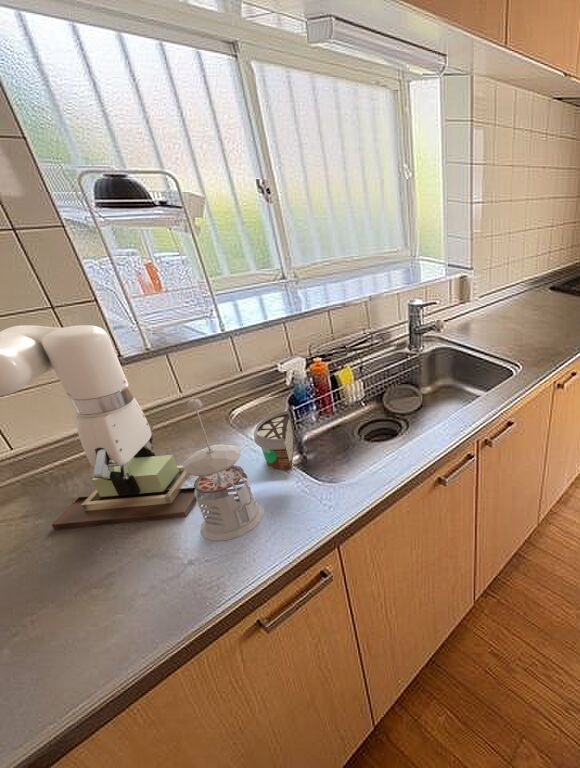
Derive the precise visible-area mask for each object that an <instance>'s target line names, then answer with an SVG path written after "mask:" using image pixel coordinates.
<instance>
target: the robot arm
mask: <svg viewBox="0 0 580 768" xmlns="http://www.w3.org/2000/svg"><path fill="white" fill-rule="evenodd" d="M52 370H54V372H55V374H56V376H57V378H58V380H59V382H60V384H61V386H62V388H63V390H64V392H65V393H66V397H67V398H68V400H69V402H70V405H71V406H72V408H73V410H74V413H75V414H76V415H77V416H76V417H74V419H75V427H76V430H77V434H78V438H79V440H80V443H81V446H82V450H83V452H84V454H85V456H86V458H87V460H88V462H89V465H90V466H91V467H92V468H94V469H93V475H92V476H93V478H98V479H104V480H108V481H112V483H113V485H114V487H115V489H116V491H117V493H118V495H119V496H126V495H137V494H139V493H140V489H139V487H138V485H137V483H136V480H135V478H134V476H133V475H130V474H129V466H128V461H129V460H130V459H132V458H137V457H151V456H156V455H155V452H154V451H155V446H154V445H153V432H154V431H153V430H154V426H153V424H151V423H149V422H148V420H147V417H146V415H145V413H144V411H143V409H142V408H141V406H140V404H139V403H138V401H137V399H136V398H135V396H134V394H133V391H132V389H131V387H130V385H129V382H128V380H127V377H126V375H125V373H124V370H123V368H122V365H121V362H120V360H119V358H118V355H117V353H116V350H115V348H114V345H113V343H112V341H111V338H110V336H109V334H108V333H107V331H106V330H105V329H104V328H102V327H99V326H96V325H91V324H80V325H70V326H64V327H58V326H57V327H56V326H45V325H44V326H43V325H33V324H32V325H30V324H26V325H25V324H24V325H22V324H21V325H14V326H11V327H8V328H5V329H3V330H1V331H0V397H1V396H2V397H3V396H8V395H11V394H13V393H16V392H18V391H20V390H22V389H23V388H25V387H26V386H27V385H29V384H31V383H32V382H33V381H34V380H36V379H37V378H39V377H40V376H43V375H44V374H46V373H48V372H50V371H52ZM112 460H113V461H114V462H112ZM115 461H116V462H115ZM114 466H120V469H121V472H116V471H114Z"/></svg>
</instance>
